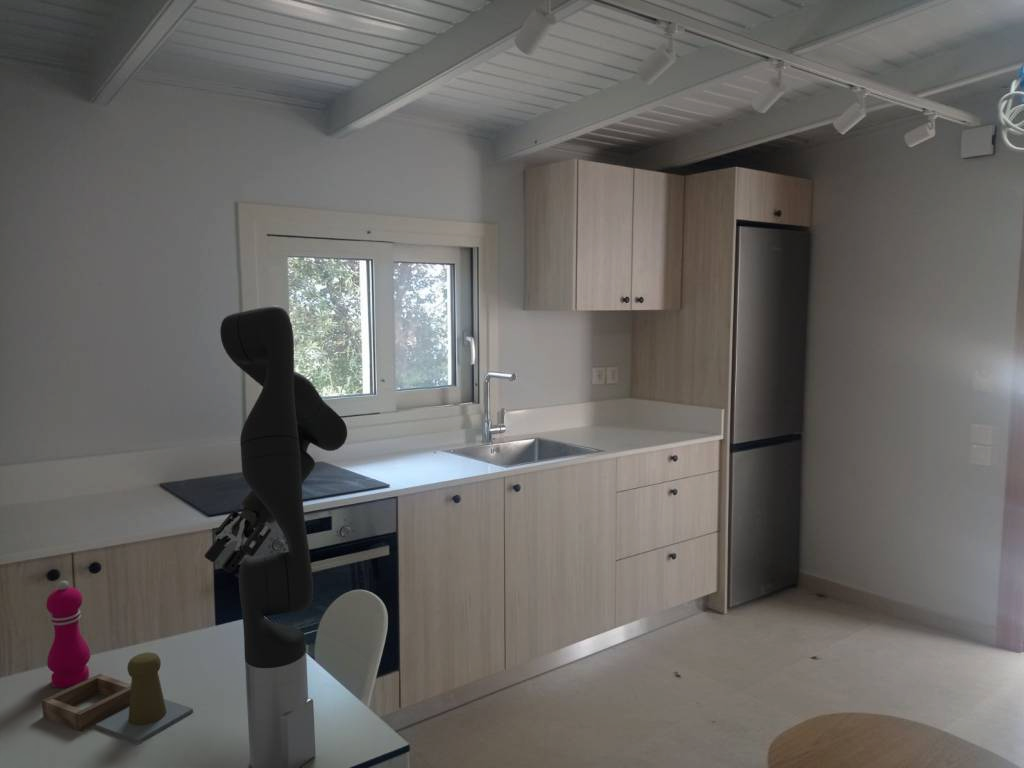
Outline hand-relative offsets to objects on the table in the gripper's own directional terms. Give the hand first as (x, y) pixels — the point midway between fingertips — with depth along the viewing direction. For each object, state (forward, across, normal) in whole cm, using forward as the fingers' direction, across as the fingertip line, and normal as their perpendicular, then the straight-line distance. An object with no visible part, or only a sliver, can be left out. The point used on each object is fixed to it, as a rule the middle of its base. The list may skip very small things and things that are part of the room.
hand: (216, 565), depth 142 cm
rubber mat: (+27, +4, +6) cm, 28 cm away
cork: (+27, +4, +6) cm, 28 cm away
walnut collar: (+31, -7, +1) cm, 32 cm away
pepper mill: (+32, -22, +2) cm, 39 cm away
